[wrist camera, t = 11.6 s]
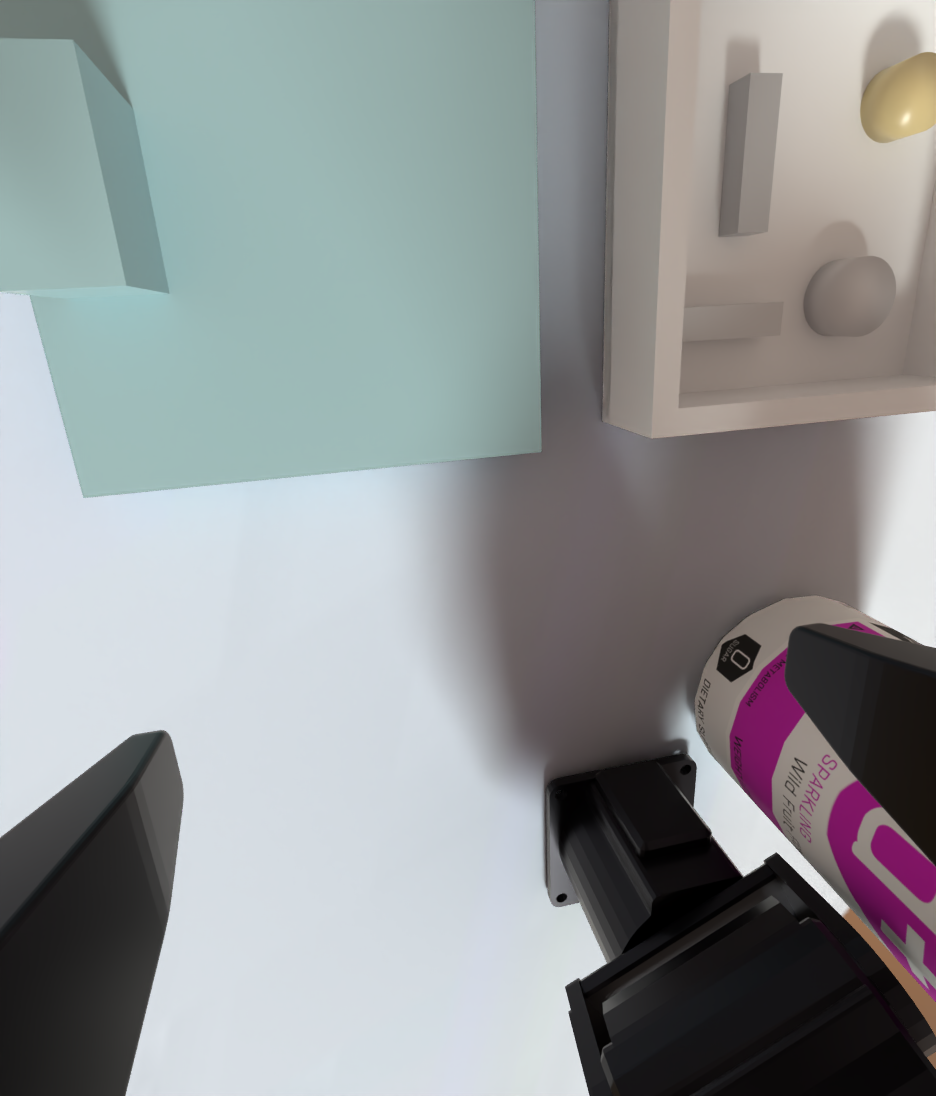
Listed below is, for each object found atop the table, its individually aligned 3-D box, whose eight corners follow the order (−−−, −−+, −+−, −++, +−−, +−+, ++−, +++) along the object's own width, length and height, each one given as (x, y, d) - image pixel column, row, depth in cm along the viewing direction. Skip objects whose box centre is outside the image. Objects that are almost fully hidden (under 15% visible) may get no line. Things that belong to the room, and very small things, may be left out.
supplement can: (664, 761, 27) (1016, 1206, 14) (715, 581, 25) (1206, 901, 11) (822, 760, 30) (1267, 1146, 16) (883, 593, 27) (1475, 876, 13)
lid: (524, 442, 22) (592, 481, 16) (103, 482, 19) (20, 545, 14) (511, -95, 17) (602, -291, 11) (-52, -130, 14) (-271, -399, 9)
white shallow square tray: (903, 393, 24) (993, 405, 21) (602, 421, 22) (651, 438, 19) (978, -42, 20) (1109, -114, 16) (610, -62, 17) (677, -149, 14)
